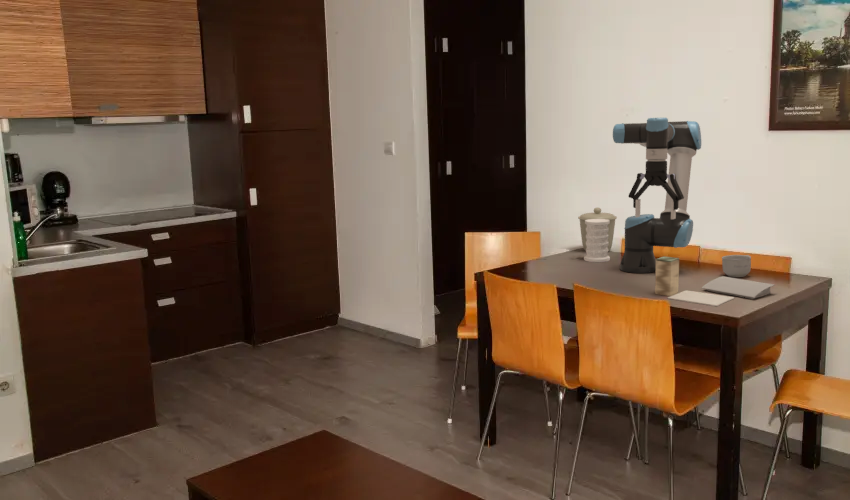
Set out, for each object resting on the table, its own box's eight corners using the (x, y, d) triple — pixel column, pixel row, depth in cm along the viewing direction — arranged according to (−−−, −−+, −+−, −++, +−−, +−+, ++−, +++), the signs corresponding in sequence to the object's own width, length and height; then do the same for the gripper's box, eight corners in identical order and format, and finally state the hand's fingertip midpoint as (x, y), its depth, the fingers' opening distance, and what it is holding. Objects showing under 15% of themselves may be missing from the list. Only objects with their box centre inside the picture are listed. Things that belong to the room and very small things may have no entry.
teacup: (735, 280, 292) (736, 260, 290) (715, 275, 302) (715, 255, 300) (762, 276, 297) (763, 256, 295) (741, 271, 307) (742, 252, 305)
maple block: (655, 293, 274) (655, 258, 272) (663, 290, 279) (663, 256, 276) (670, 296, 270) (671, 260, 268) (678, 293, 274) (679, 258, 272)
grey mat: (667, 298, 267) (667, 297, 267) (685, 291, 276) (686, 290, 276) (716, 306, 254) (716, 305, 254) (734, 298, 264) (734, 297, 264)
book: (721, 285, 287) (722, 275, 286) (780, 295, 269) (780, 284, 268) (698, 291, 278) (698, 281, 277) (757, 302, 260) (757, 291, 259)
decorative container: (579, 258, 344) (579, 219, 341) (601, 256, 348) (601, 218, 345) (592, 263, 334) (592, 223, 330) (615, 260, 337) (615, 221, 334)
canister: (617, 254, 352) (617, 209, 348) (578, 254, 355) (578, 210, 352) (615, 247, 369) (616, 205, 365) (578, 247, 373) (578, 205, 369)
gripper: (620, 160, 279) (619, 217, 282) (686, 161, 263) (684, 221, 267) (628, 159, 284) (627, 214, 288) (694, 160, 269) (692, 218, 272)
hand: (655, 217), depth 277 cm, fingers open, 13 cm apart
